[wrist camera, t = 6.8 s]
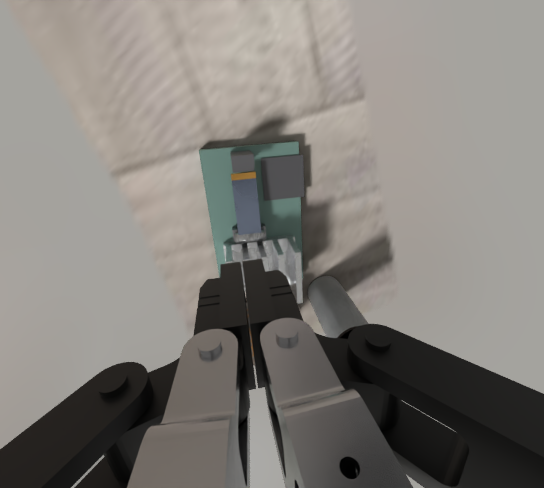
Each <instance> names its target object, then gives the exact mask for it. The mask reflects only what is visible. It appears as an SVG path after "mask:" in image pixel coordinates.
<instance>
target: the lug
mask: <svg viewBox="0 0 544 488" xmlns="http://www.w3.org/2000/svg"><path fill="white" fill-rule="evenodd" d="M230 156H231V163H232V170H233V173H235V172H245V171H254V166H255V163H254V154H253V153H252V152H251V151H250V150H246V151H235V152H230Z"/></svg>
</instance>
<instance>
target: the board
mask: <svg viewBox="0 0 544 488" xmlns="http://www.w3.org/2000/svg"><path fill="white" fill-rule="evenodd" d="M246 150H250V151H251V152H252V153H253V154H254V163H255V166H254V171H255V172H256V182H257V192H258V203H259V213H260V223H261V224H265V226H266V237H274V236H282V235H290V234H293V235H294V236H295V243H296V245H297V246H298V248H299V250H300V251H301V267H302V278H303V258H302V228H301V199H300V197H304V164H303V155H299V142H298V141H288V142H277V143H266V144H255V145H243V146H232V147H221V148H209V149H200V150H199V154H200V160H201V167H202V173H203V179H204V185H205V191H206V197H207V203H208V209H209V215H210V222H211V228H212V234H213V240H214V246H215V252H216V258H217V264H218V270H219V277H220V265H221V264H226V262H225V255H224V249H223V243H225V242H233V241H234V240H233V232H232V227H237V219H236V211H235V203H234V195H233V187H232V180H231V173H233V170H232V163H231V156H230V152H235V151H246ZM245 172H251V171H245ZM235 173H241V172H235Z"/></svg>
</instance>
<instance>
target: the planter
mask: <svg viewBox="0 0 544 488" xmlns="http://www.w3.org/2000/svg"><path fill="white" fill-rule="evenodd" d="M308 298H309V300H310V303H311V305H312V307H313V309H314V311H315V313H316V315H317V317H318V319H319V322H320V324H321V326H322V328H323V330H324V332H325V334H326V336H327V337H331V338H342V339H348V336H349V334H350V332H351V331H352V330H353V329H355V328H356V327H358V326H361V325H365V324H368V322H367V321H366V320H365V318H364V317H363V315H362V314H361V312H360V311H359V310H358V308H357V307H356V305H355V304H354V303H353V301H352V300H351V298H350V297H349V296H348V294H347V293H346V291H345V290H344V288H343V287H342V286H341V284H340V283H339V282H338V280H337V279H335V278H334V277H331V276H322V277H319V278H317V279H315V280H314V281H313V282H312V283H311V284H310V286H309V288H308Z"/></svg>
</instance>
